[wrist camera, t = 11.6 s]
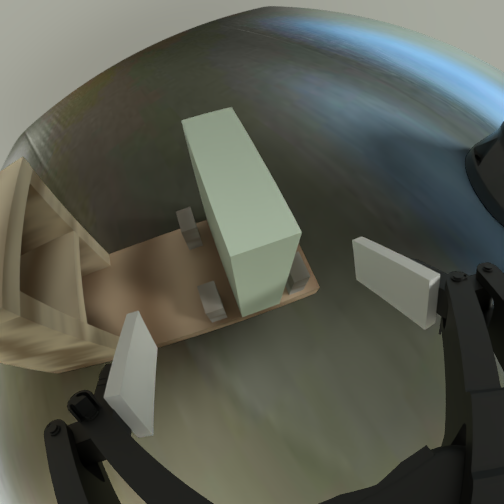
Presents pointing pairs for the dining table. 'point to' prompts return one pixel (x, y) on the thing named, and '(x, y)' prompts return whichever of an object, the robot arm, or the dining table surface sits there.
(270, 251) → the pale green block
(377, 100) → the dining table surface
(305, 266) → the wooden rack
